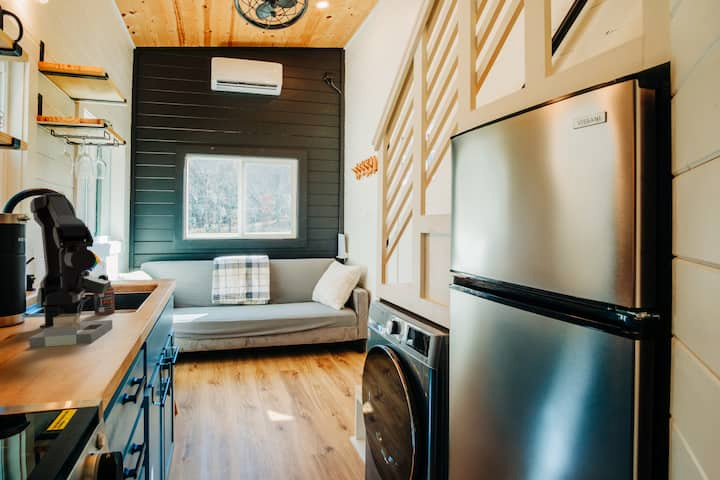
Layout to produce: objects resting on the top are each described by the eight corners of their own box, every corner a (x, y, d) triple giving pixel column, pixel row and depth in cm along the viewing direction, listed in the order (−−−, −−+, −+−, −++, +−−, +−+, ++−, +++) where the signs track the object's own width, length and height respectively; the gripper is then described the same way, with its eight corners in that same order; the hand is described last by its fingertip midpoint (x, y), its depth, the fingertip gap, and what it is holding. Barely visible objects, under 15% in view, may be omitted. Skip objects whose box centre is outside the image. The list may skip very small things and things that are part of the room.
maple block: (61, 330, 114) (60, 314, 114) (80, 329, 115) (79, 313, 115) (54, 334, 110) (53, 317, 110) (73, 333, 111) (72, 316, 111)
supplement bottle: (105, 315, 144) (104, 282, 143) (90, 315, 145) (89, 282, 144) (118, 312, 149) (117, 280, 149) (104, 311, 151) (102, 279, 150)
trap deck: (58, 331, 123) (58, 316, 123) (112, 328, 126) (111, 313, 126) (29, 347, 107) (28, 330, 107) (91, 343, 110) (90, 326, 110)
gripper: (92, 271, 110) (94, 330, 110) (116, 263, 128) (118, 315, 129) (42, 272, 107) (45, 333, 108) (74, 264, 125) (77, 317, 126)
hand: (75, 324), depth 118 cm, fingers closed
